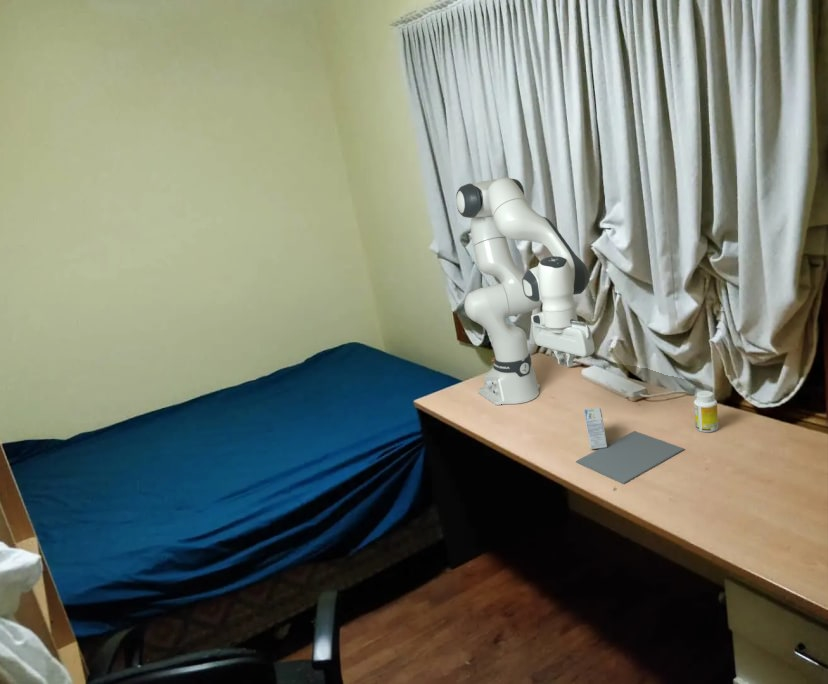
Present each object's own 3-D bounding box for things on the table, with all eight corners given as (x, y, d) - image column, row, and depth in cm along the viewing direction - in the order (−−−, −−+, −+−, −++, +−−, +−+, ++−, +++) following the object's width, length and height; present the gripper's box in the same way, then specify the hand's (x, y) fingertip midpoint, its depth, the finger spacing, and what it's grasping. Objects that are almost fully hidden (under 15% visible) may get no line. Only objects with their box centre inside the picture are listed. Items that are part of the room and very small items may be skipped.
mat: (576, 462, 165) (575, 461, 165) (634, 432, 175) (634, 430, 175) (623, 484, 152) (623, 482, 152) (684, 450, 161) (684, 448, 161)
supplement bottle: (723, 427, 168) (721, 392, 166) (709, 435, 166) (707, 399, 163) (704, 422, 173) (702, 387, 170) (690, 429, 171) (688, 394, 168)
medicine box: (607, 448, 168) (603, 418, 166) (590, 450, 170) (585, 420, 167) (604, 435, 176) (600, 406, 174) (588, 437, 177) (584, 408, 175)
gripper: (597, 319, 163) (602, 369, 167) (543, 309, 180) (549, 355, 184) (579, 326, 160) (585, 376, 164) (526, 315, 178) (533, 361, 182)
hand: (565, 365), depth 174 cm, fingers closed
